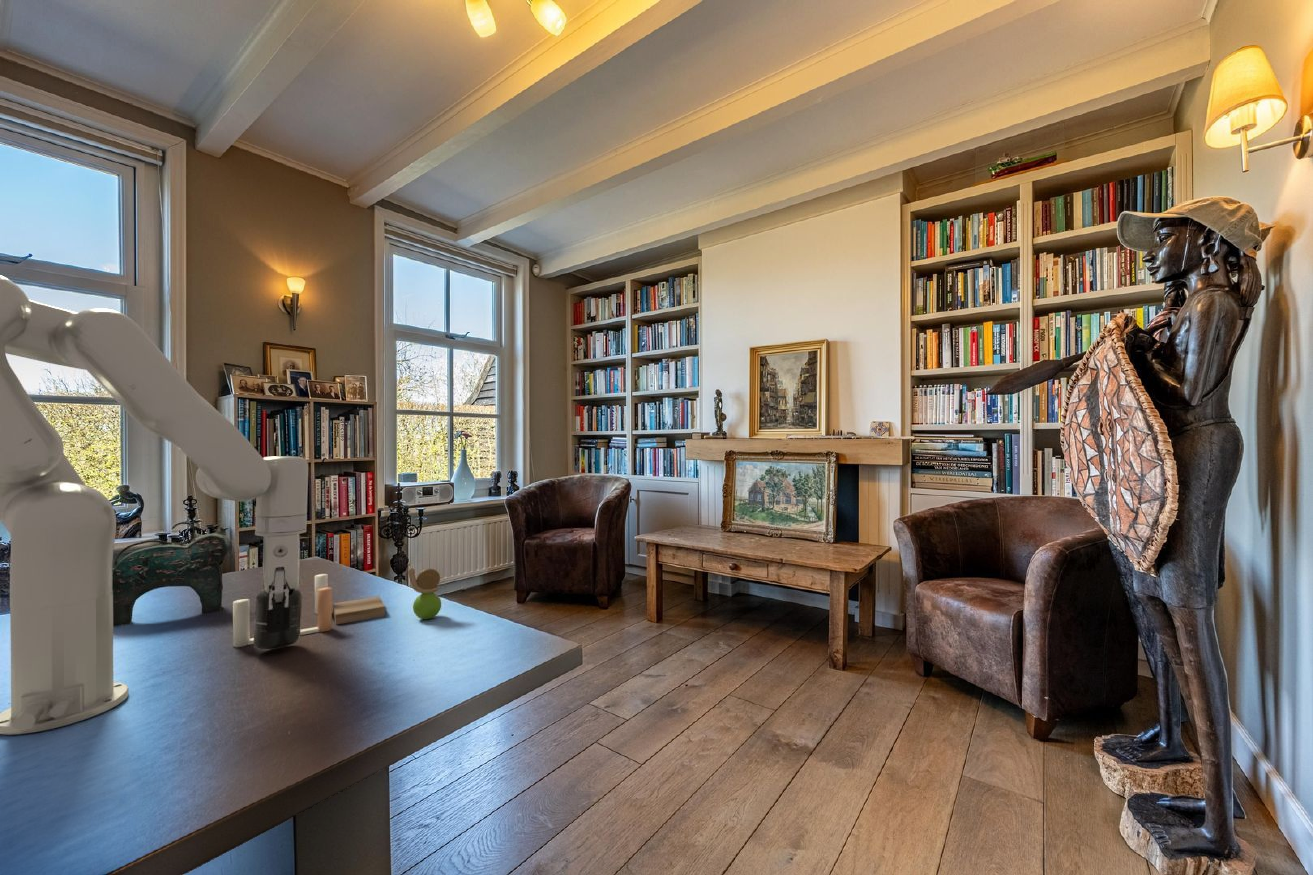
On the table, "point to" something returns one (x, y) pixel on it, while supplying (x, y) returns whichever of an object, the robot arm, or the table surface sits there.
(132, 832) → the table surface
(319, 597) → the post fence
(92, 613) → the robot arm
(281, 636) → the supplement bottle
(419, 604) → the snail figurine
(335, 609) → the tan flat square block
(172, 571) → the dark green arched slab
